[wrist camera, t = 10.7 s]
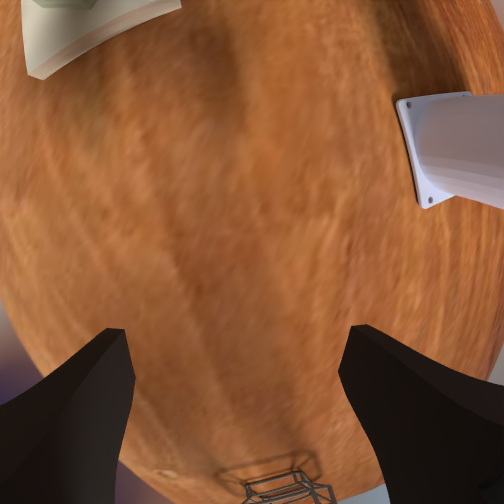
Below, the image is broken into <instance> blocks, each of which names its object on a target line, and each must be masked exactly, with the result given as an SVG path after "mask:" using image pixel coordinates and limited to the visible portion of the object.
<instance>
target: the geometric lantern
mask: <svg viewBox="0 0 504 504" xmlns="http://www.w3.org/2000/svg"><path fill="white" fill-rule="evenodd" d="M295 474H300V476H301V479H302V481H299V482H298V480H297V477H296V475H295ZM291 475H293V477H294V480H295V483H294V484H291V485H288V486H284V487H281V488H277V489H274V490H270V491H266V492H263V493H259V494H256V493H254V492H253V491H251V487H250V486H254V485H258V484H262V483H266V482H270V481H274V480H277V479H281V478H284V477H288V476H291ZM304 478H305V479H304ZM305 480H306V481H305ZM302 483H303V484H302ZM298 484H299V485H301V486H302V487H304V488H300V489H297V490H294V491H290V492H287V493H283V494H280V495H276V496H272V497H260V495H264V494H268V493H272V492H275V491H279V490H282V489H286V488H289V487H292V486H295V485H298ZM308 484H309V485H308ZM313 485H315V486H319V487H314V486H313ZM310 486H311V487H310ZM326 488H328V491H329V495H330V498H331V500H330V499H328V498H325V497H323V496H321V495H319V494H317V493H316V491H317V490H322V489H326ZM304 489H306V490H304ZM245 490H246V496H247V499H246V500H245V501H244V502H243V503H242V504H246V503H247V502H248V501H250V502H252V503H249V504H267V503H269V504H272V502H276V501H280V500H284V499H288V498H292V497H295V496H299V495H302V494H306V493H309V495H307V496H304V497H302V498H299V499H296V500H293V501H290V502H287V503H283V504H290V503H293V502H296V501H299V500H302V499H305V498H307V497H310V496H311V497H312V498H313V499H314V502H315V504H321V503H320V502H319V499H318V497H317V496H319V497H321V498H323V499H325V500H327V501H329V502H331V503H329V504H337V501H336V498H335V495H334V492H333V489H332V486H331V485H323V484H318V483H313V482H310V480H309V479H308V478H307V477H306V476H305V475H304V473H303V472H302V471H300V472H293V473H290V474H286V475H283V476H280V477H276V478H272V479H269V480H265V481H261V482H257V483H252V484H247V485H246V487H245ZM300 490H303V491H300ZM297 491H299V492H297ZM294 492H296V493H294ZM290 493H292V494H290ZM249 494H250V496H249ZM287 494H289V495H287ZM283 495H285V496H283ZM280 496H281V497H280ZM251 497H258V498H260V499H262V501H259V502H255V501H253V500H251V499H250V498H251ZM276 497H277V498H276ZM272 498H273V499H272ZM264 499H268V500H264Z"/></svg>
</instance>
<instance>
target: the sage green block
mask: <svg viewBox="0 0 504 504" xmlns="http://www.w3.org/2000/svg"><path fill="white" fill-rule="evenodd" d="M32 1H34V2H35V3H36V4H38V5H39V6H40V7H42V8H67V9H85V10H91V9H92V7H93V6H94V4H95V3H96V2H97V0H32Z"/></svg>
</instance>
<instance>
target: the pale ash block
mask: <svg viewBox="0 0 504 504" xmlns="http://www.w3.org/2000/svg"><path fill="white" fill-rule="evenodd" d="M21 8H22V30H23V42H24V51H25V59H26V66H27V72H28V75H30V76H32V77H35V78H38V79H41V80H43V81H44V80H45V79H46V78H48V77H49V76H50V75H52V74H53V73H55V72H56V71H57V70H59V69H60V68H62V67H63V66H65V65H66V64H68V63H69V62H71V61H72V60H74V59H75V58H77V57H78V56H80V55H82V54H83V53H85V52H87V51H88V50H90V49H92V48H93V47H95V46H97V45H99V44H101V43H102V42H104V41H106V40H108V39H110V38H112V37H114V36H116V35H118V34H120V33H122V32H124V31H126V30H128V29H130V28H132V27H134V26H137V25H139V24H141V23H143V22H146V21H148V20H150V19H153V18H155V17H158V16H160V15H163V14H166V13H168V12H171V11H174V10H177V9H180V8H182V6H181V1H180V0H97V2H96V3H95V4H94V6H93V7H92V9H91V10H85V9H67V8H42V7H40V6H39V5H38V4H36V3H35V2H34V1H32V0H21Z"/></svg>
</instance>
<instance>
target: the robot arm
mask: <svg viewBox="0 0 504 504" xmlns="http://www.w3.org/2000/svg"><path fill="white" fill-rule="evenodd" d="M407 103H408V105H409V108H408V107H407ZM396 109H397V112H398V115H399V118H400V122H401V125H402V129H403V132H404V136H405V140H406V144H407V148H408V152H409V156H410V161H411V165H412V170H413V175H414V180H415V185H416V191H417V196H418V203H419V206H420V207H421V208H424V209H427V208H429V207H431V206H433V205H435V204H438V203H440V202H442V201H444V200H446V199H448V198H451V197H453V196H455V195H457V196H461V197H464V198H468V199H471V200H475V201H478V202H482V203H485V204H488V205H491V206H495V207H498V208H501V209H504V94H487V95H472V94H471V92H469V91H465V92H453V93H443V94H435V95H427V96H419V97H413V98H406V99H400V100H398V101H397V102H396ZM429 198H430V200H429V202H428V199H429ZM338 373H339V377H340V380H341V383H342V386H343V388H344V391H345V394H346V396H347V398H348V400H349V402H350V404H351V406H352V408H353V410H354V412H355V414H356V416H357V418H358V420H359V421H360V423H361V425H362V427H363V429H364V431H365V433H366V435H367V437H368V439H369V440H370V442H371V445H372V447H373V449H374V451H375V454H376V456H377V459H378V462H379V465H380V468H381V471H382V474H383V477H384V480H385V484H386V487H387V491H388V495H389V499H390V504H504V386H502V385H498V384H493V383H490V382H486V381H483V380H479V379H476V378H473V377H470V376H468V375H465V374H463V373H460V372H457V371H455V370H453V369H450V368H448V367H446V366H444V365H442V364H440V363H438V362H436V361H434V360H432V359H430V358H428V357H426V356H424V355H422V354H420V353H418V352H417V351H415V350H413V349H411V348H410V347H408V346H406V345H404V344H402V343H401V342H399V341H397V340H395V339H394V338H392V337H390V336H388V335H387V334H385V333H383V332H381V331H379V330H377V329H376V328H374V327H371V326H369V325H367V324H365V325H356V326H351V329H350V332H349V336H348V340H347V343H346V347H345V350H344V353H343V357H342V360H341V363H340V366H339V370H338ZM135 378H136V377H135V374H134V370H133V366H132V362H131V357H130V353H129V349H128V344H127V339H126V334H125V329H113V328H106V329H105V330H103V331H102V332H101V333H99V334H98V335H97V336H96V337H95V338H93V339H92V340H91V341H90V342H89V343H87V344H86V345H85V346H84V347H83V348H82V349H80V350H79V351H78V352H77V353H75V354H74V355H73V356H72V357H71V358H69V359H68V360H67V361H66V362H65V363H63V364H62V365H61V366H60V367H58V368H57V369H56V370H54V371H53V372H52V373H50V374H49V375H48V376H46V377H45V378H44V379H43V380H41V381H40V382H39V383H37V384H36V385H34V386H33V387H31V388H30V389H28V390H27V391H25V392H24V393H22V394H20V395H19V396H17V397H16V398H14V399H12V400H10V401H9V402H7V403H5V404H3V405H1V406H0V504H114V500H115V495H114V494H115V480H116V469H117V462H118V458H119V453H120V449H121V445H122V441H123V437H124V433H125V429H126V425H127V421H128V417H129V413H130V410H131V406H132V400H133V393H134V385H135Z"/></svg>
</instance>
